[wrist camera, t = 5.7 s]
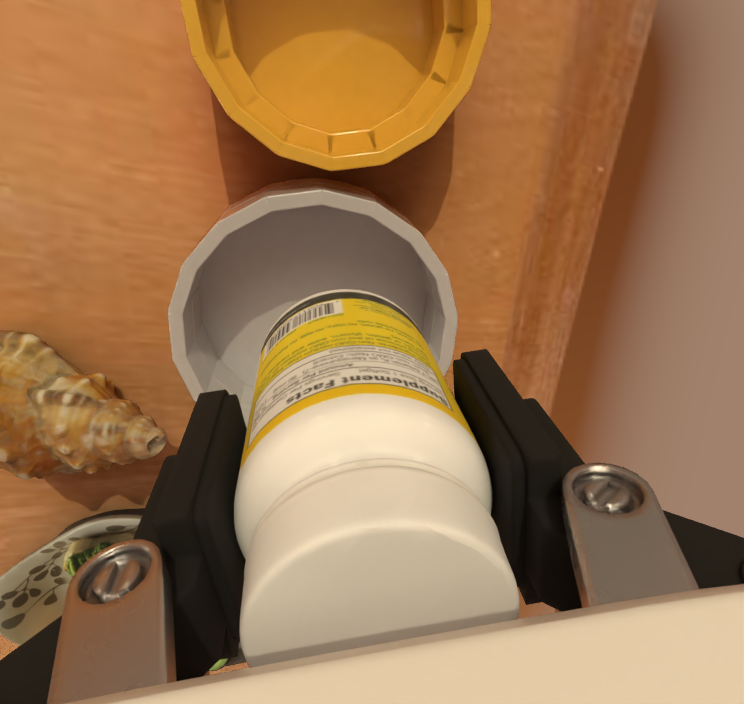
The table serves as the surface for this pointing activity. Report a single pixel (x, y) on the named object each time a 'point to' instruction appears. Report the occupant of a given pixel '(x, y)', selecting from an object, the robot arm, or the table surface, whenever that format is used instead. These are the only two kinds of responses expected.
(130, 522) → the salad plate
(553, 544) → the robot arm
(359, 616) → the supplement bottle
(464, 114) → the table surface
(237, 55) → the yellow bowl
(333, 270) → the gray round dish
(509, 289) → the table surface
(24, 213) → the table surface
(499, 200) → the table surface
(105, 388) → the seashell
